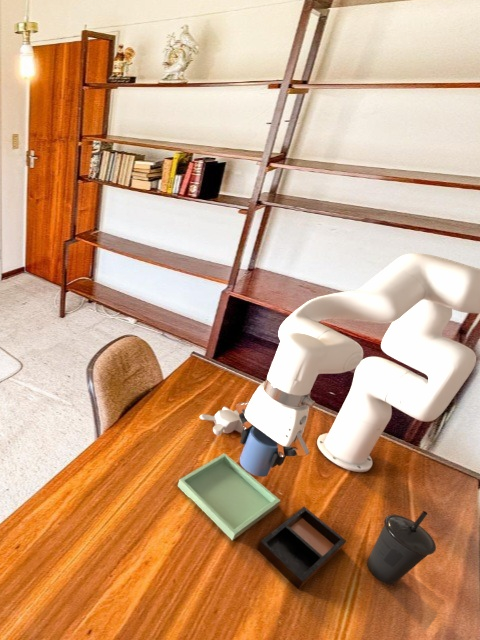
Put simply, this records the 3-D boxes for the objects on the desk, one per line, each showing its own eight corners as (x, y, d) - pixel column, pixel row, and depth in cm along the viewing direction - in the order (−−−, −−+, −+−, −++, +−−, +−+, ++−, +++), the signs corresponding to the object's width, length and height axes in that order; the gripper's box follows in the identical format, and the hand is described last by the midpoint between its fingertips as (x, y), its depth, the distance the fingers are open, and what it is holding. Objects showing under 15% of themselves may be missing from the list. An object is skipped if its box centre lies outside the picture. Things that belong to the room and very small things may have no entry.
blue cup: (249, 449, 94) (261, 421, 90) (275, 469, 89) (288, 440, 85) (233, 460, 91) (244, 431, 87) (259, 481, 86) (271, 452, 82)
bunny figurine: (261, 423, 116) (222, 430, 111) (255, 436, 118) (216, 443, 113) (237, 401, 124) (199, 406, 119) (231, 414, 126) (194, 419, 121)
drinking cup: (412, 597, 80) (464, 537, 71) (370, 588, 81) (416, 527, 72) (389, 558, 87) (433, 498, 78) (350, 550, 88) (390, 490, 79)
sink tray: (221, 459, 109) (224, 452, 108) (277, 507, 97) (280, 500, 95) (177, 486, 101) (179, 479, 100) (231, 541, 89) (234, 534, 88)
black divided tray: (299, 515, 95) (304, 506, 94) (340, 549, 88) (346, 540, 87) (255, 550, 87) (260, 541, 86) (297, 591, 80) (303, 582, 79)
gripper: (341, 411, 75) (309, 475, 83) (256, 361, 89) (235, 420, 97) (321, 425, 72) (289, 491, 80) (235, 371, 85) (215, 431, 93)
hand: (259, 452), depth 88 cm, fingers closed on blue cup, 6 cm apart
